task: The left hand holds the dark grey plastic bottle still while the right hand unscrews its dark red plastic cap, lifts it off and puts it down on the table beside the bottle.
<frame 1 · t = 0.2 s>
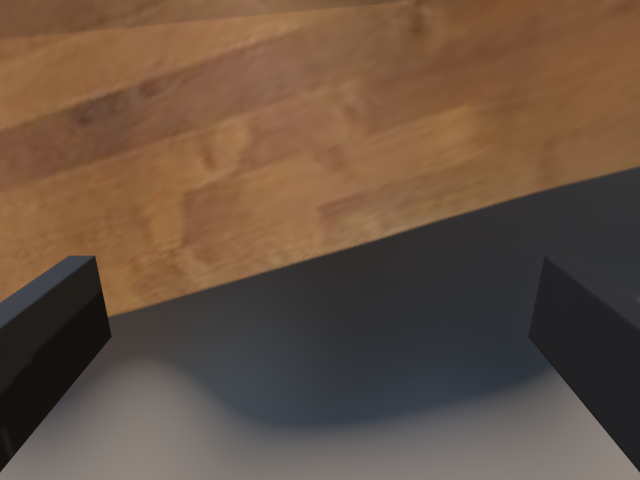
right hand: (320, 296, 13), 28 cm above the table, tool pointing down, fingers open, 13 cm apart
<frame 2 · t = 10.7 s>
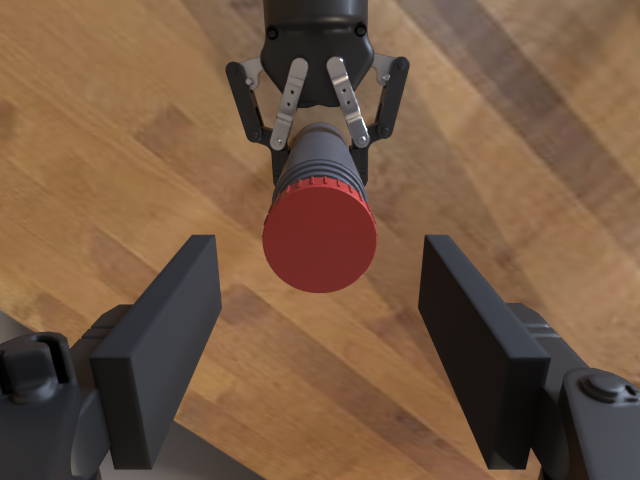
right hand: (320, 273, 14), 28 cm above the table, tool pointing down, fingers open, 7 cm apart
left hand: (321, 191, 35), fingers closed on bottle, 5 cm apart
cap: (319, 239, 17), point 25 cm above the table, screwed on, not yet turned
bottle: (319, 149, 40), on the table, touching left hand
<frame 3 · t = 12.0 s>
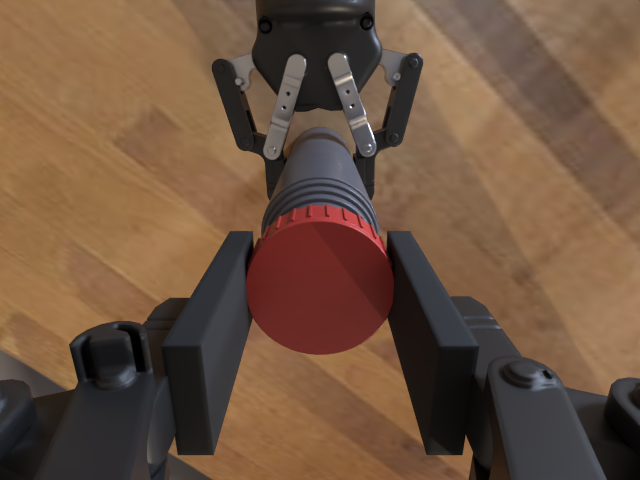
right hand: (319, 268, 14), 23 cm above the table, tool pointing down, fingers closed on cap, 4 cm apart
cap: (320, 287, 13), point 25 cm above the table, screwed on, not yet turned, touching right hand
bottle: (320, 156, 36), on the table, touching left hand
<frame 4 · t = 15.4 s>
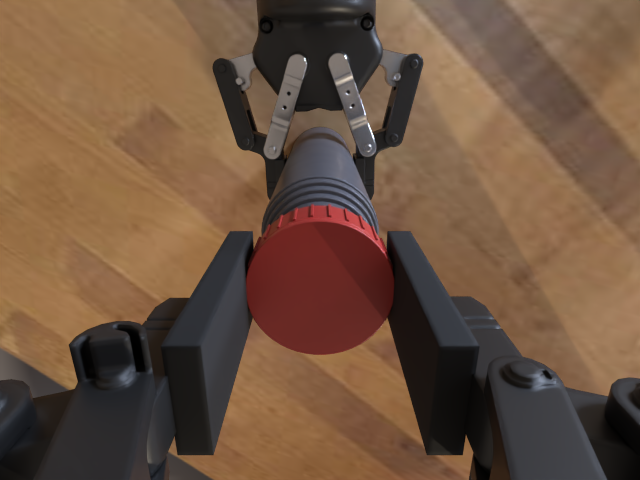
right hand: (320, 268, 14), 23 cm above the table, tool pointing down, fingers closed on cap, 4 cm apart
cap: (320, 287, 13), point 25 cm above the table, turned 119° so far, risen 0.1 cm, still on its thread, touching right hand
bottle: (320, 156, 36), on the table, touching left hand
when the right hand's fingers open (1 cm above the table, at t = 31.6 s): cap stays where it is, point 1 cm above the table.
when the left hand's fingers open (6 cm above the table, at t = 32.9 s): bottle stays where it is, on the table.
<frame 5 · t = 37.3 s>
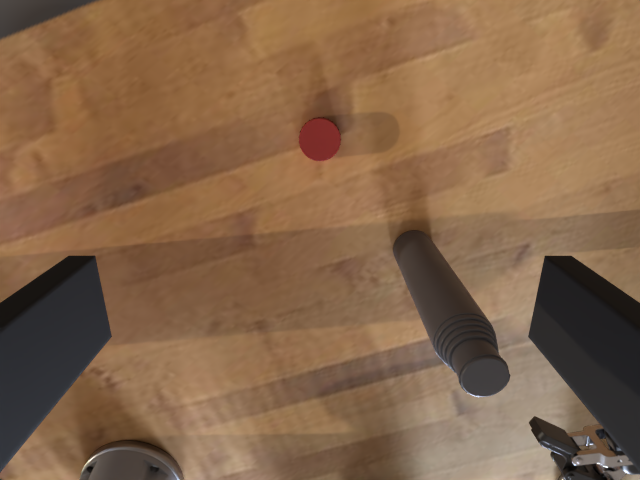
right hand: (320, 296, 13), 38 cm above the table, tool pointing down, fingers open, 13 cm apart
cap: (319, 139, 47), point 1 cm above the table, off its thread
bottle: (412, 248, 53), on the table
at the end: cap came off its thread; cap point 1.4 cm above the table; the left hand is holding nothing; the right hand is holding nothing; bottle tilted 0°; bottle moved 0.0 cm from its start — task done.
